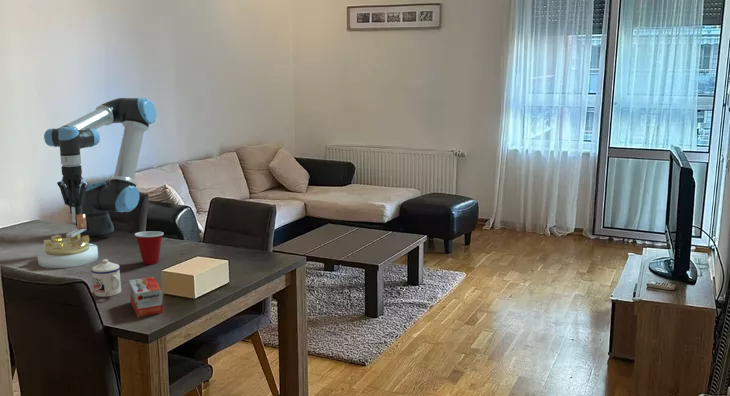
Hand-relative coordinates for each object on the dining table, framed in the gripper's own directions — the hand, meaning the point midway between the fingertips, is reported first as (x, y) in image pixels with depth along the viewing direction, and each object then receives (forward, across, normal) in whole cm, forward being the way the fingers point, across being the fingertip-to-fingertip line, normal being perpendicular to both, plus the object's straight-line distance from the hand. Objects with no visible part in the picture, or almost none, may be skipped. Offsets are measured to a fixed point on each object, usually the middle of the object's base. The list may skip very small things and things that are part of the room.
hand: (76, 221), depth 288 cm
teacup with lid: (+12, +43, -47) cm, 65 cm away
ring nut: (+8, +4, -10) cm, 13 cm away
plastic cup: (+12, +38, -10) cm, 42 cm away
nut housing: (+12, +4, -13) cm, 18 cm away
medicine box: (+12, +62, -57) cm, 85 cm away
